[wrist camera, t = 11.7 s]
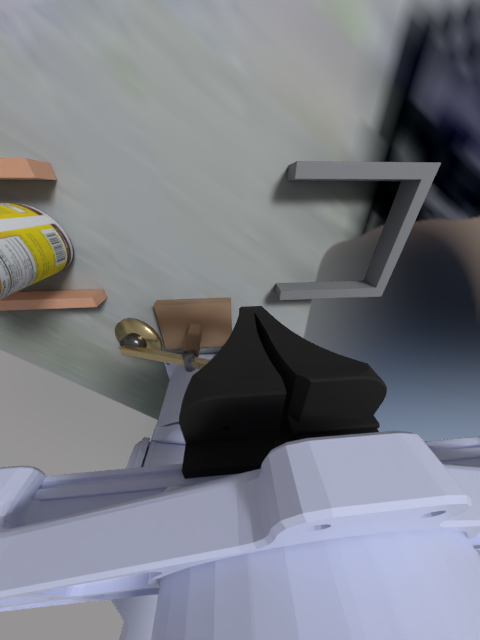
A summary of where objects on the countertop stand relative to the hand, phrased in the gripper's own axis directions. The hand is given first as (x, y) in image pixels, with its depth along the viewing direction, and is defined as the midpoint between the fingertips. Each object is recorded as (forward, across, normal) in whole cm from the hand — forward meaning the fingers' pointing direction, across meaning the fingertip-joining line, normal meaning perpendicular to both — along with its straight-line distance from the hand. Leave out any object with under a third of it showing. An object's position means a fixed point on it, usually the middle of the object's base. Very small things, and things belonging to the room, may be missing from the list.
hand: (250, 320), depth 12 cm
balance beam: (+5, +4, +6) cm, 9 cm away
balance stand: (+9, +5, +6) cm, 12 cm away
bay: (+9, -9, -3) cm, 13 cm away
